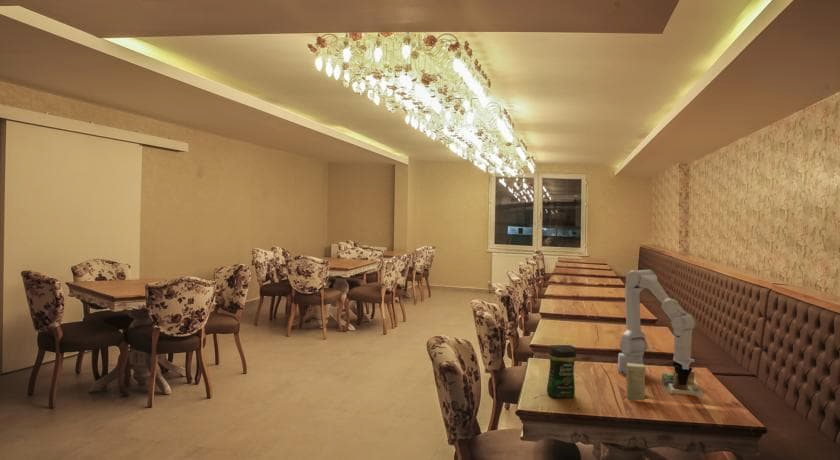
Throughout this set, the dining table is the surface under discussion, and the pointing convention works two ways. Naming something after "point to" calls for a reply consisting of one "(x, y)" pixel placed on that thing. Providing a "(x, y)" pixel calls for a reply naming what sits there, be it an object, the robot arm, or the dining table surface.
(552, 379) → the coffee jar
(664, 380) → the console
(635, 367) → the skincare box
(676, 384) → the walnut block
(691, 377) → the beech block
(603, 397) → the dining table surface
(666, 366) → the dining table surface
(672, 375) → the button
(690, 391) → the grey compartment tray
